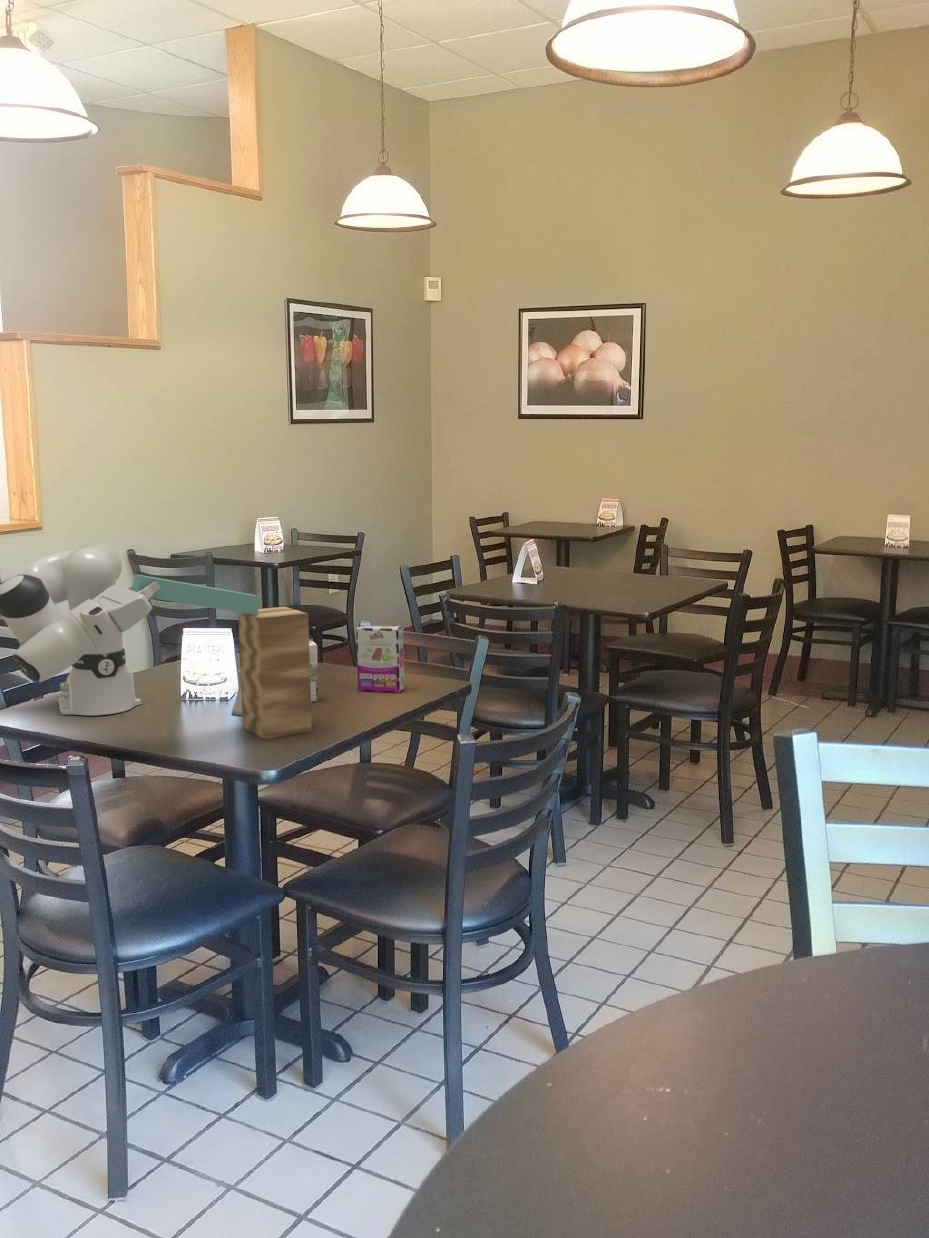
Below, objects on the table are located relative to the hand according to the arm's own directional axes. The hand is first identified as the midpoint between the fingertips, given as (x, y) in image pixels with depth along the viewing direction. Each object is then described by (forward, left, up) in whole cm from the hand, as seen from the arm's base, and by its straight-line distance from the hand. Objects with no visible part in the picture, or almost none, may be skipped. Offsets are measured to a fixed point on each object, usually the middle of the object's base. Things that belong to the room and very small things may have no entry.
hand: (153, 582), depth 220 cm
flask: (-18, +26, -35) cm, 47 cm away
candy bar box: (-20, +63, -35) cm, 75 cm away
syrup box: (-21, +42, -35) cm, 58 cm away
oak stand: (0, +26, -34) cm, 43 cm away
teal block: (0, +9, -5) cm, 10 cm away
